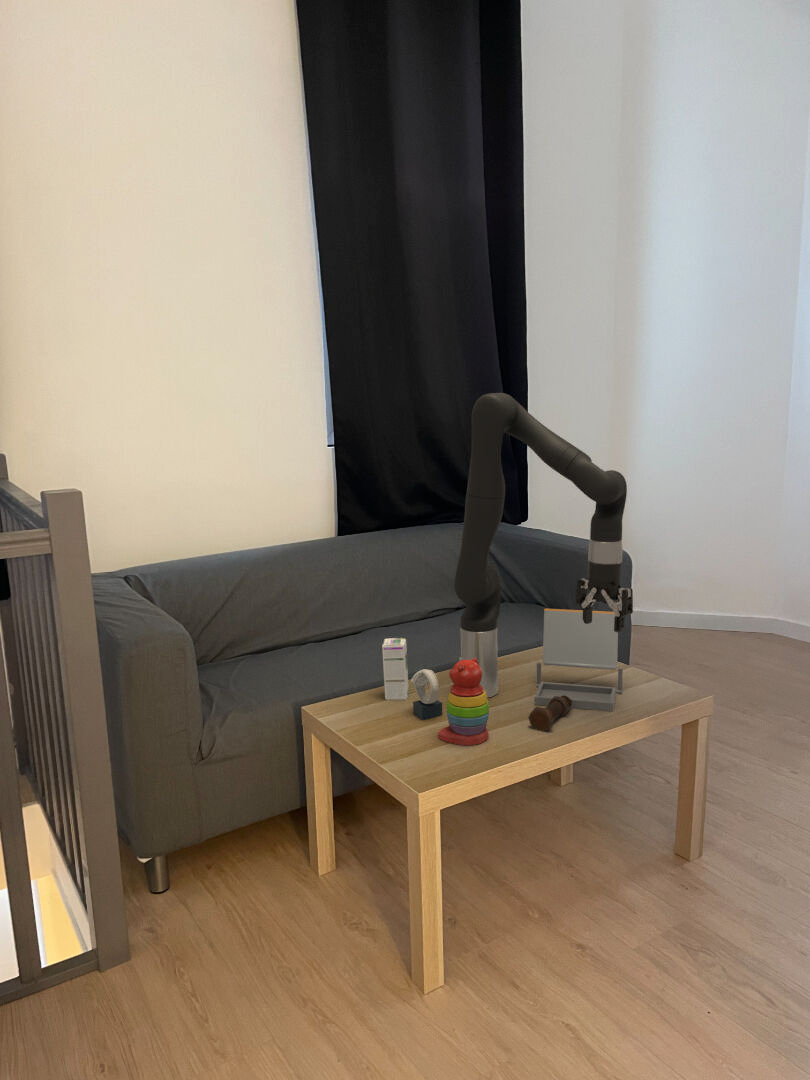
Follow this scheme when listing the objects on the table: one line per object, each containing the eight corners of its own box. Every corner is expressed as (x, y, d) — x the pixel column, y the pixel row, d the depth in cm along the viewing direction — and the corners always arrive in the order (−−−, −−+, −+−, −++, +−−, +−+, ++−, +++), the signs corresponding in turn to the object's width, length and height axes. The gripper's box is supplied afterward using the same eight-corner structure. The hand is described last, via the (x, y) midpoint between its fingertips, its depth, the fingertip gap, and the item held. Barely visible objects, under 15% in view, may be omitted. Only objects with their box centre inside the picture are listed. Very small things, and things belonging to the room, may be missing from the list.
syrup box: (407, 700, 207) (405, 644, 205) (384, 700, 208) (381, 644, 205) (408, 691, 213) (407, 637, 210) (386, 691, 213) (384, 637, 211)
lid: (544, 608, 214) (544, 608, 216) (542, 664, 213) (543, 664, 215) (618, 612, 209) (618, 612, 210) (616, 670, 208) (616, 669, 209)
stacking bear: (467, 723, 192) (465, 649, 189) (500, 735, 185) (499, 659, 181) (433, 737, 185) (431, 661, 182) (467, 750, 178) (465, 671, 174)
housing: (528, 704, 202) (528, 680, 201) (537, 683, 216) (537, 661, 215) (619, 711, 196) (619, 687, 195) (622, 689, 209) (622, 667, 208)
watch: (429, 706, 203) (428, 663, 201) (446, 717, 196) (445, 673, 194) (409, 711, 200) (407, 668, 198) (425, 722, 193) (424, 677, 191)
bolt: (569, 716, 199) (542, 737, 186) (552, 703, 201) (524, 722, 189) (580, 698, 196) (554, 718, 184) (563, 685, 198) (536, 703, 186)
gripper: (569, 556, 192) (568, 623, 195) (621, 566, 181) (618, 637, 184) (590, 551, 196) (588, 617, 199) (641, 561, 186) (638, 630, 189)
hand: (602, 627), depth 192 cm, fingers open, 8 cm apart
